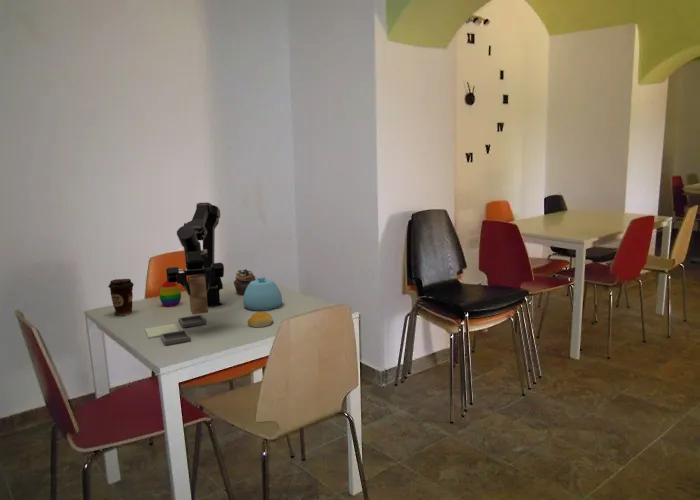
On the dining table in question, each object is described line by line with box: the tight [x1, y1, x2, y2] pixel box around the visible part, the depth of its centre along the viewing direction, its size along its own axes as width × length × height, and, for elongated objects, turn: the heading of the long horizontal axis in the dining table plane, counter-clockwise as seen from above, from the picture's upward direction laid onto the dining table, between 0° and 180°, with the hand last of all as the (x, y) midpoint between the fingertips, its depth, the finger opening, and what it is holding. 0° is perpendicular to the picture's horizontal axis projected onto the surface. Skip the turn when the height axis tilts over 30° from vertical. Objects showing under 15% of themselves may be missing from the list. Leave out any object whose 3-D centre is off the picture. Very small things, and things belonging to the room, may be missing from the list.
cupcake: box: [233, 268, 257, 296], centre depth 238 cm, size 10×10×10 cm
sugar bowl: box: [242, 276, 283, 311], centre depth 218 cm, size 15×15×12 cm
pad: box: [144, 323, 180, 339], centre depth 191 cm, size 10×10×1 cm
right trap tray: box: [177, 314, 207, 329], centre depth 199 cm, size 8×8×2 cm
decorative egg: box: [158, 280, 182, 307], centre depth 224 cm, size 8×8×10 cm
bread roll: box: [246, 311, 274, 328], centre depth 196 cm, size 8×9×4 cm
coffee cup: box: [107, 278, 135, 316], centre depth 213 cm, size 9×8×13 cm
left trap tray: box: [160, 329, 192, 347], centre depth 182 cm, size 8×8×2 cm
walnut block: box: [187, 275, 209, 316], centre depth 188 cm, size 5×5×12 cm
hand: (198, 293), depth 186 cm, fingers closed on walnut block, 5 cm apart
